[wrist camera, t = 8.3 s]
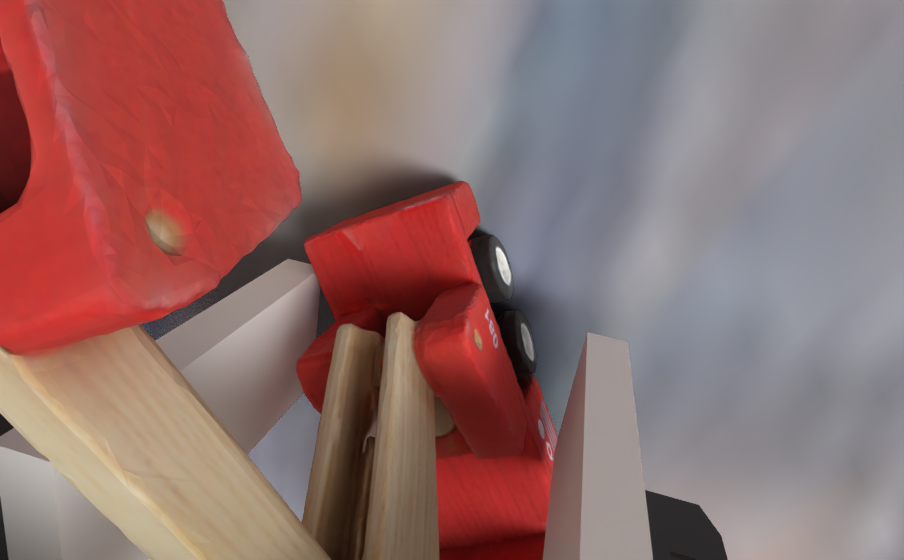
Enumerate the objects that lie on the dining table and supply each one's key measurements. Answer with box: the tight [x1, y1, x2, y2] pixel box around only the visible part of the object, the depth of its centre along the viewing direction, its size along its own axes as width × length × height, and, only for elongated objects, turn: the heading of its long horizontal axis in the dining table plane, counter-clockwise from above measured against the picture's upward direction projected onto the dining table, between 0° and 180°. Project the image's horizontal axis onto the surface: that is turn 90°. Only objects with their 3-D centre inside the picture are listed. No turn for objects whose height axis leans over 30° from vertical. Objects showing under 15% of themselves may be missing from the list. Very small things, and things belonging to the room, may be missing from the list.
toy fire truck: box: [0, 0, 558, 560], centre depth 9 cm, size 3×14×10 cm, turn 20°
